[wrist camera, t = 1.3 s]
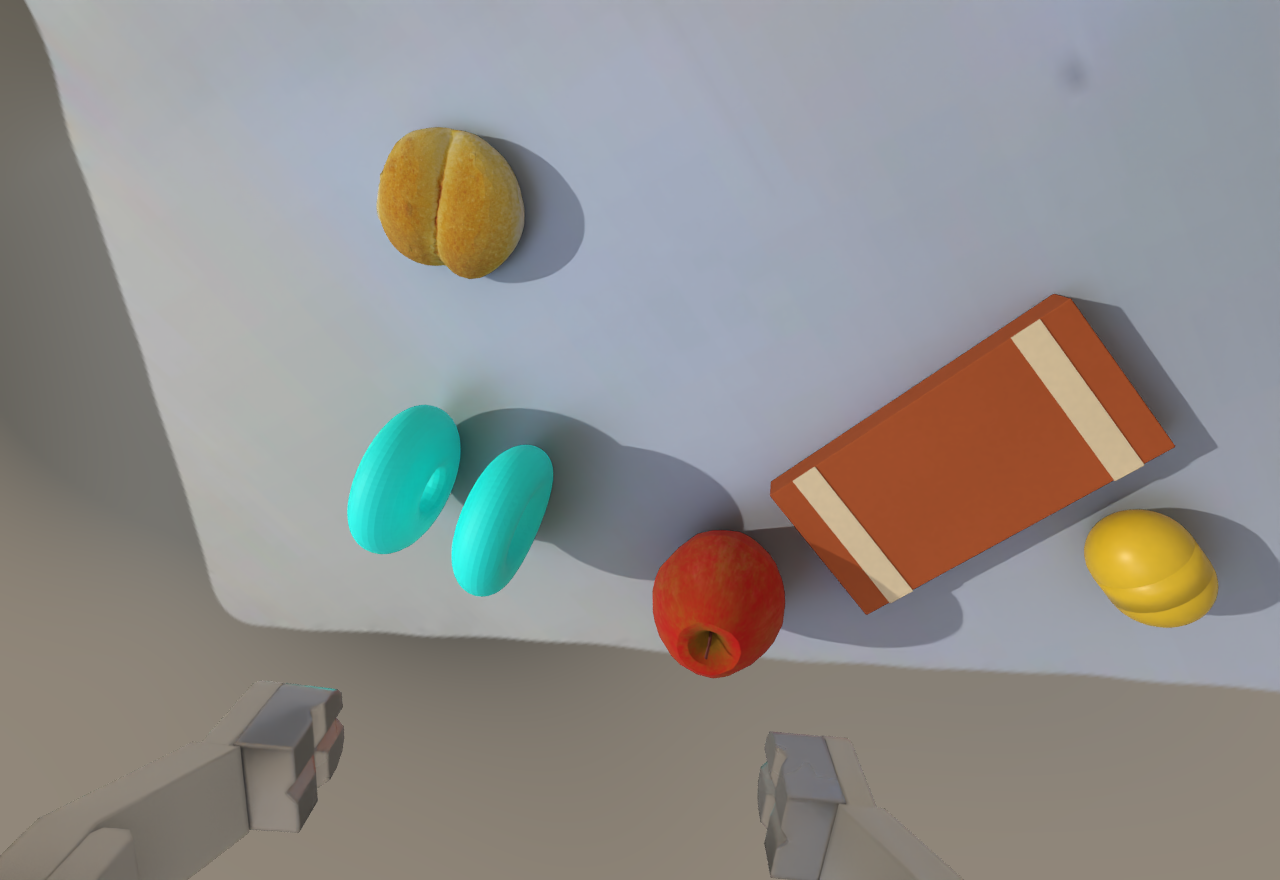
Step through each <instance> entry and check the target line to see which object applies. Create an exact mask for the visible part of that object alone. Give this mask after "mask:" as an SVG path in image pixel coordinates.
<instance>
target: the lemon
mask: <svg viewBox="0 0 1280 880" xmlns="http://www.w3.org/2000/svg"><path fill="white" fill-rule="evenodd" d="M1084 556H1085V561H1086V565H1087V568H1088V569H1089V571H1090V573H1091V575H1092V576H1093V578H1094V579H1095V581H1096V582H1097V583H1098V585H1099V586H1100V587H1101V589H1102V590H1103V591H1104V593H1105V594H1106V595H1107V597H1108V598H1109V599H1110V601H1111V602H1112V603H1113V604H1114V605H1115V606H1116V607H1117V608H1118V609H1119V610H1120V611H1121V612H1122V613H1124V614H1125V615H1127V616H1128V617H1130V618H1132V619H1134V620H1136V621H1138V622H1140V623H1143V624H1146V625H1150V626H1156V627H1163V628H1172V627H1179V626H1183V625H1187V624H1190V623H1192V622H1194V621H1196V620H1198V619H1200V618H1201V617H1203V616H1204V615H1205V614H1206V613H1207V612H1208V611H1209V610H1210V609H1211V607H1212V606H1213V604H1214V602H1215V601H1216V598H1217V594H1218V579H1217V574H1216V572H1215V570H1214V568H1213V566H1212V564H1211V562H1210V561H1209V559H1208V558H1207V556H1206V555H1205V554H1204V552H1203V551H1202V549H1201V548H1200V547H1199V545H1198V544H1197V543H1196V541H1195V540H1194V538H1193V537H1192V536H1191V534H1190V533H1189V532H1188V531H1187V530H1186V529H1185V528H1184V527H1183V526H1182V525H1181V524H1179V523H1178V522H1176V521H1175V520H1173V519H1172V518H1170V517H1168V516H1165V515H1163V514H1161V513H1157V512H1154V511H1149V510H1142V509H1134V510H1123V511H1119V512H1116V513H1113V514H1111V515H1108V516H1106V517H1105V518H1103V519H1102V520H1100V521H1099V522H1098V523H1097V524H1096V525H1095V526H1094V527H1093V528H1092V530H1091V531H1090V532H1089V534H1088V536H1087V539H1086V542H1085V547H1084Z"/></svg>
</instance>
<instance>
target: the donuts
mask: <svg viewBox="0 0 1280 880" xmlns="http://www.w3.org/2000/svg"><path fill="white" fill-rule="evenodd" d="M460 455H461V444H460V437H459V433H458V430H457V427H456V425H455V423H454V421H453V420H452V418H451V417H450V416H449V415H448V414H447V413H446V412H444V411H443V410H441V409H440V408H437V407H434V406H430V405H419V406H414V407H411V408H408V409H406V410H404V411H402V412H401V413H399V414H397V415H396V416H395V417H394V418H392V419H391V420H390V421H389V422H388V423H387V424H386V425H385V426H384V427H383V428H382V429H381V431H380V432H379V433H378V434H377V436H376V437H375V438H374V440H373V441H372V443H371V444H370V446H369V447H368V449H367V451H366V453H365V454H364V456H363V458H362V460H361V462H360V464H359V467H358V469H357V471H356V474H355V477H354V479H353V483H352V486H351V490H350V495H349V500H348V510H347V515H348V524H349V528H350V532H351V534H352V536H353V538H354V539H355V541H356V542H357V543H358V544H359V545H360V546H361V547H362V548H364V549H365V550H367V551H370V552H372V553H377V554H390V553H394V552H397V551H400V550H402V549H404V548H406V547H408V546H410V545H411V544H413V543H414V542H415V541H417V540H418V539H419V538H420V537H421V536H422V535H423V534H424V533H425V532H426V531H427V530H428V529H429V528H430V527H431V525H432V524H433V523H434V521H435V520H436V519H437V517H438V516H439V514H440V512H441V511H442V509H443V507H444V505H445V503H446V502H447V500H448V497H449V495H450V493H451V491H452V488H453V485H454V483H455V480H456V476H457V473H458V469H459V463H460ZM552 483H553V466H552V463H551V460H550V458H549V457H548V455H547V454H546V453H545V452H544V451H543V450H542V449H540V448H538V447H536V446H533V445H519V446H515V447H512V448H510V449H508V450H506V451H504V452H502V453H501V454H500V455H499V456H497V457H496V458H495V459H494V460H493V461H492V462H491V463H490V464H489V465H488V466H487V467H486V469H485V470H484V471H483V473H482V474H481V475H480V477H479V478H478V480H477V481H476V483H475V485H474V486H473V488H472V490H471V492H470V494H469V496H468V498H467V500H466V502H465V504H464V506H463V509H462V511H461V514H460V517H459V519H458V523H457V526H456V529H455V533H454V538H453V543H452V567H453V571H454V575H455V577H456V579H457V581H458V583H459V585H460V586H461V587H462V588H463V589H464V590H465V591H467V592H468V593H470V594H472V595H475V596H481V597H482V596H489V595H492V594H495V593H497V592H498V591H500V590H501V589H502V588H504V587H505V586H506V585H507V584H508V583H509V581H510V580H511V579H512V578H513V576H514V575H515V573H516V572H517V570H518V569H519V567H520V566H521V564H522V562H523V560H524V559H525V557H526V555H527V553H528V551H529V549H530V547H531V545H532V543H533V541H534V539H535V536H536V534H537V532H538V529H539V527H540V524H541V522H542V519H543V516H544V514H545V511H546V508H547V504H548V501H549V498H550V494H551V489H552Z"/></svg>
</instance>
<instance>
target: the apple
mask: <svg viewBox="0 0 1280 880" xmlns="http://www.w3.org/2000/svg"><path fill="white" fill-rule="evenodd" d="M784 609H785V591H784V586H783V582H782V579H781V576H780V573H779V571H778V568H777V566H776V563H775V561H774V560H773V559H772V557H771V556H770V555H769V553H768V552H767V551H766V550H765V549H764V548H763V547H762V546H761V545H760V544H759V543H758V542H756V541H755V540H754V539H752V538H751V537H750V536H747V535H745V534H743V533H741V532H737V531H727V530H712V531H708V532H703V533H699V534H697V535H695V536H694V537H693V538H691V539H690V540H688V541H687V542H686V543H684V544H683V545H682V546H680V547H679V548H678V549H677V550H676V551H675V552H674V553H673V554H672V555H671V556H670V557H669V559H668V560H667V561H666V562H665V563H664V564H663V565H662V566H661V567H660V568H659V571H658V573H657V576H656V578H655V582H654V587H653V614H654V620H655V624H656V627H657V630H658V633H659V636H660V638H661V639H662V641H663V643H664V644H665V646H666V648H667V649H668V651H669V653H670V654H671V656H672V657H673V658H674V659H675V660H676V661H677V662H678V663H679V664H680V665H682V666H684V667H685V668H687V669H689V670H691V671H693V672H694V673H696V674H698V675H702V676H706V677H710V678H719V677H725V676H729V675H731V674H733V673H735V672H737V671H740V670H741V669H743V668H745V667H748V666H750V665H751V664H753V663H754V662H755V661H756V660H757V659H758V658H759V657H761V656H762V655H763V654H764V653H765V652H766V651H767V650H768V649H769V647H770V646H771V645H772V644H773V642H774V641H775V639H776V637H777V635H778V633H779V631H780V629H781V627H782V624H783V616H784Z"/></svg>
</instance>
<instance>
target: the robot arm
mask: <svg viewBox="0 0 1280 880" xmlns="http://www.w3.org/2000/svg"><path fill="white" fill-rule="evenodd" d="M342 707H343V704H342V693H341V692H340V691H339V690H338V689H331V688H323V687H315V686H307V685H299V684H290V683H286V684H284V683H278V682H270V681H262V680H260V681H258V682H256V683H253V684H252V685H251V686H250V687H249V688H248V689H247V691H246V692H245V693H244V694H243V695H242V696H241V697H240V698H239V700H238V701H237V702H236V703H235V704H234V705H233V706H232V708H231V709H230V710H229V711H228V712H227V714H226V715H225V716H224V717H223V718H222V719H221V720H220V721H219V723H218V724H217V725H216V726H215V727H214V728H213V730H212V731H211V732H210V733H209V734H208V735H207V736H206V738H205V739H204V740H203V741H202V742H192V743H189V744H187V745H186V746H183V747H181V748H179V749H177V750H175V751H173V752H171V753H169V754H167V755H165V756H163V757H161V758H159V759H157V760H155V761H153V762H151V763H149V764H147V765H145V766H143V767H141V768H139V769H137V770H135V771H133V772H131V773H129V774H127V775H125V776H123V777H121V778H119V779H117V780H115V781H113V782H111V783H109V784H107V785H105V786H103V787H101V788H98V789H96V790H94V791H93V792H90V793H88V794H86V795H84V796H82V797H80V798H78V799H76V800H74V801H73V802H70V803H69V804H66V805H64V806H62V807H60V808H58V809H56V810H55V811H52V812H50V813H48V814H46V815H44V816H42V817H40V818H38V819H37V820H36V821H35V822H34V823H33V824H32V825H31V826H30V827H29V828H28V829H27V830H26V831H25V832H24V833H23V834H22V835H21V836H20V837H19V838H18V839H16V841H14V842H13V843H12V844H11V845H10V846H9V847H8V848H7V849H6V850H5V851H4V852H3V853H2V854H1V855H0V880H188V879H189V878H191V877H192V876H193V875H195V874H196V873H197V872H198V871H200V870H201V869H202V868H204V867H205V866H206V865H207V864H209V863H210V862H211V861H213V860H214V859H215V858H217V857H218V856H219V855H221V854H222V853H223V852H225V851H226V850H227V849H229V848H230V847H231V846H232V845H234V844H235V843H236V842H238V841H239V840H240V839H242V838H243V837H244V836H245V835H247V834H248V833H249V830H263V831H279V832H295V833H299V832H300V830H301V828H302V827H303V825H304V823H305V822H306V820H307V818H308V817H309V815H310V813H311V811H312V810H313V808H314V806H315V805H316V803H317V801H318V798H317V788H319V787H320V786H322V785H323V784H324V783H326V782H328V781H329V780H330V779H331V777H332V775H333V773H334V771H335V770H336V768H337V765H338V762H339V759H340V756H341V753H342V749H343V742H344V726H343V725H342V724H341V723H340V721H339V720H338V719H337V718H336V717H337V716H338V714H339V712H340V710H341V709H342ZM765 753H766V758H767V762H766V763H765V764H764V765H763V766H761V769H760V774H759V780H758V810H759V816H760V822H761V823H762V824H763V825H764V826H765V827H766V829H767V833H766V838H765V843H764V844H765V850H766V855H767V860H768V866H769V871H770V877H771V878H778V879H787V880H964V879H963V878H961V877H960V876H959V875H958V874H957V873H956V872H955V871H954V870H953V869H951V868H950V867H949V866H948V865H947V864H946V863H945V862H944V861H943V860H941V859H940V858H939V857H938V856H937V855H936V854H935V853H934V852H932V851H931V850H930V849H929V848H928V847H927V846H926V845H925V844H924V843H923V842H922V841H920V840H919V839H918V838H917V837H916V836H915V835H914V834H913V833H912V832H910V831H909V830H908V829H907V828H906V827H905V826H904V825H903V824H901V823H900V822H899V821H898V820H897V819H896V818H895V817H894V816H893V815H892V814H890V813H889V812H888V811H887V810H886V809H885V808H877V806H876V804H875V801H874V799H873V796H872V793H871V791H870V788H869V786H868V783H867V781H866V778H865V775H864V773H863V770H862V768H861V765H860V763H859V760H858V757H857V755H856V752H855V750H854V747H853V744H852V742H851V741H850V740H849V739H848V738H845V737H833V736H814V735H803V734H791V733H781V732H769V734H768V736H767V739H766V743H765Z"/></svg>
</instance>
